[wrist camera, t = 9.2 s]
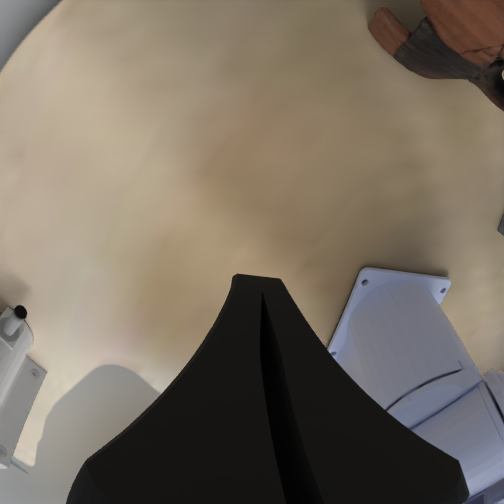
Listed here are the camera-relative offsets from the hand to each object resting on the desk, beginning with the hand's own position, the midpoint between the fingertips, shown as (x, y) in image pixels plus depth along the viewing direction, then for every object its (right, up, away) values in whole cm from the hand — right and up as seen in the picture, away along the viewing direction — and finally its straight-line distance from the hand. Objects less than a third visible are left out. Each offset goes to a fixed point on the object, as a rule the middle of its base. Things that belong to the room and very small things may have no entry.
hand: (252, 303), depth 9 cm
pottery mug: (+11, +15, +3) cm, 19 cm away
